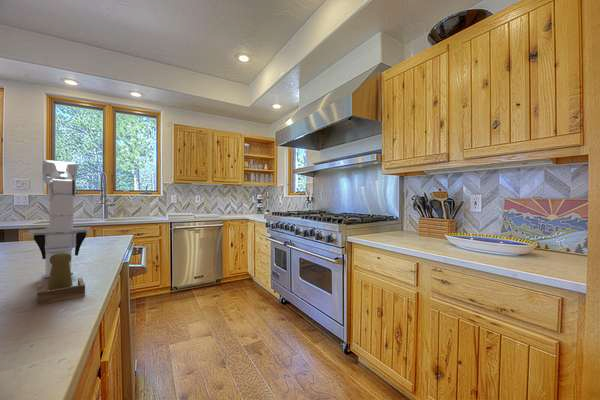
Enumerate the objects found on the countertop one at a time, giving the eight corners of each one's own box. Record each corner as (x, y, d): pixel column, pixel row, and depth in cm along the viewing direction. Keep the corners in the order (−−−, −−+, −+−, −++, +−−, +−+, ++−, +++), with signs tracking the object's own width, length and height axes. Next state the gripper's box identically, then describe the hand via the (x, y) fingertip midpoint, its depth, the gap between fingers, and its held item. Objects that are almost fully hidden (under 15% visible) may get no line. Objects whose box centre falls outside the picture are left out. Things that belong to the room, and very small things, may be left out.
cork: (56, 291, 79) (57, 256, 79) (42, 289, 80) (42, 255, 80) (77, 284, 85) (78, 252, 85) (63, 283, 86) (63, 251, 86)
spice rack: (37, 295, 75) (38, 284, 75) (81, 287, 82) (81, 277, 82) (36, 305, 68) (37, 293, 68) (84, 296, 75) (85, 285, 75)
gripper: (28, 217, 74) (27, 262, 74) (91, 215, 84) (90, 255, 85) (29, 215, 79) (28, 258, 79) (89, 214, 89) (88, 252, 89)
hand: (60, 256), depth 82 cm, fingers open, 7 cm apart
